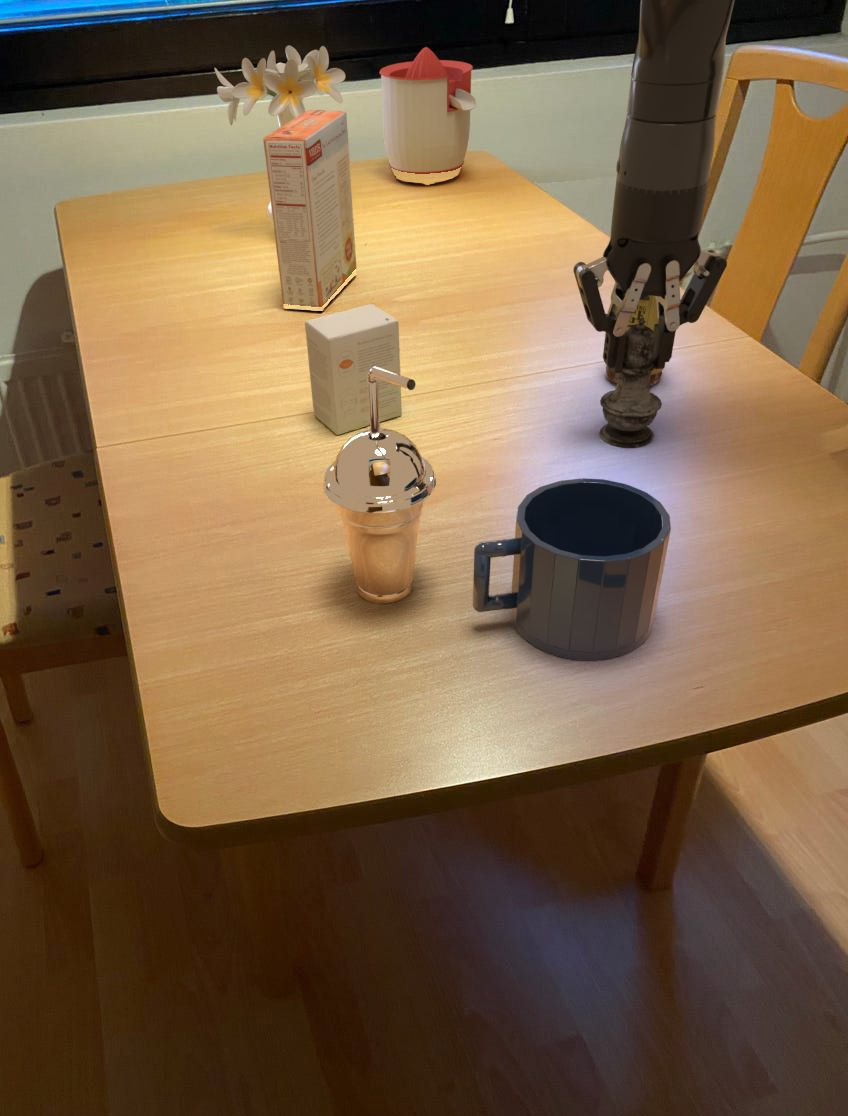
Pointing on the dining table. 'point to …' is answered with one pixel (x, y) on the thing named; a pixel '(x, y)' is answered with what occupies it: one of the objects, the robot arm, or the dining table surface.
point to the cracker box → (311, 205)
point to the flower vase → (282, 86)
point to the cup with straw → (380, 500)
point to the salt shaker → (632, 393)
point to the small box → (352, 366)
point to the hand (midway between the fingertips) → (635, 366)
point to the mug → (581, 568)
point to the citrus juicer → (426, 113)
